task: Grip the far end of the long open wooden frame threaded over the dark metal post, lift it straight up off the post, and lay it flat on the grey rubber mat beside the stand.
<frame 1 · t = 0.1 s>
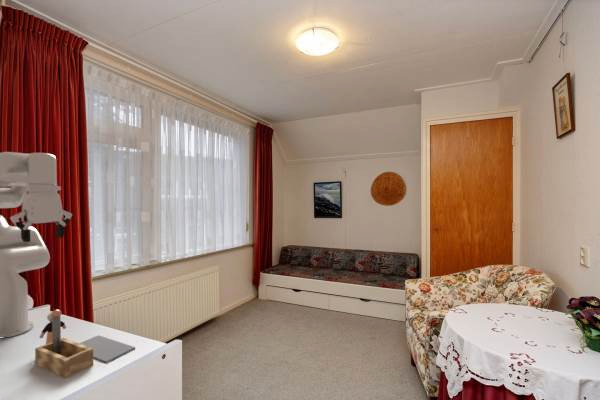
hand: (43, 239, 104), 37 cm above the table, tool pointing down, fingers open, 9 cm apart
rubber mat: (102, 348, 102), on the table
grandmother figurine: (54, 349, 102), on the table
open wooden frame: (64, 364, 93), on the table
post stand: (57, 361, 95), on the table
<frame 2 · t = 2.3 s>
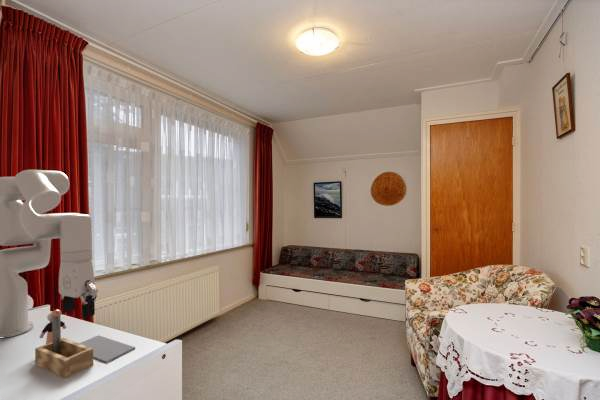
hand: (78, 314, 89), 17 cm above the table, tool pointing down, fingers open, 9 cm apart
nothing on the table moved.
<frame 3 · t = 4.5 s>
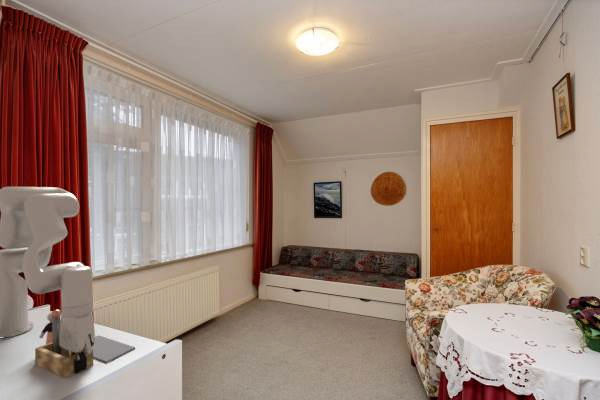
hand: (78, 370, 90), 0 cm above the table, tool pointing down, fingers closed on open wooden frame
open wooden frame: (64, 364, 93), on the table, touching gripper
everything else where it was.
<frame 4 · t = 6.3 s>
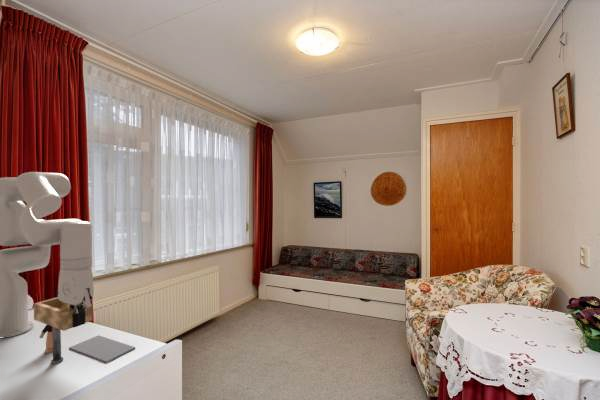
hand: (77, 324, 90), 14 cm above the table, tool pointing down, fingers closed on open wooden frame
open wooden frame: (62, 320, 93), point 14 cm above the table, touching gripper
everything else where it was.
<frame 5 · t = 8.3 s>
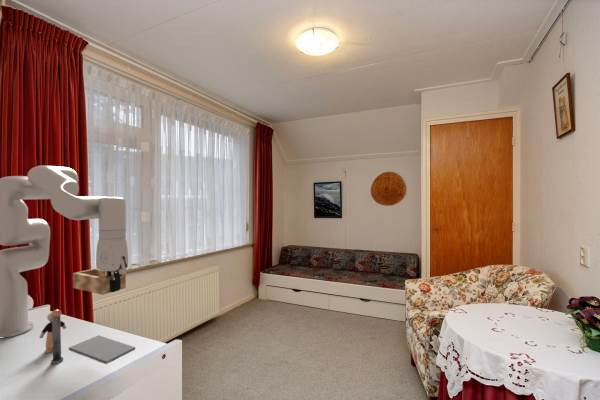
hand: (113, 290, 99), 21 cm above the table, tool pointing down, fingers closed on open wooden frame
open wooden frame: (99, 287, 102), point 21 cm above the table, touching gripper
everything else where it was.
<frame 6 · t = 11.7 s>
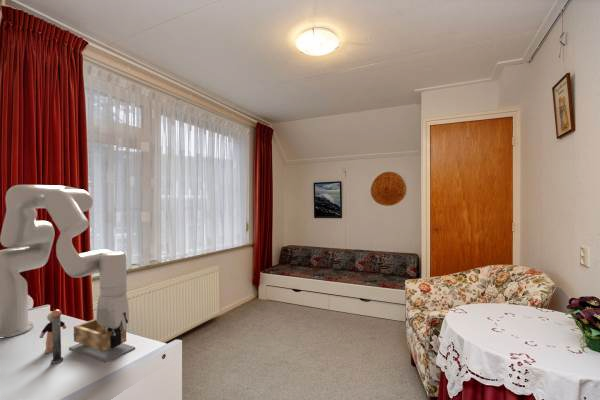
hand: (114, 345, 99), 3 cm above the table, tool pointing down, fingers closed on open wooden frame
open wooden frame: (100, 341, 103), point 2 cm above the table, touching gripper
everything else where it was.
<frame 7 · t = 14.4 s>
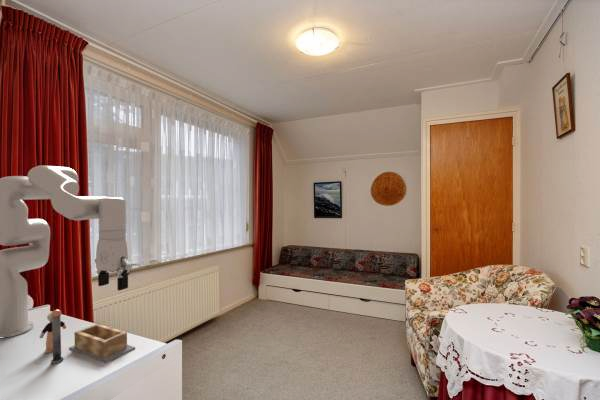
hand: (113, 287, 99), 22 cm above the table, tool pointing down, fingers open, 9 cm apart
open wooden frame: (100, 346, 102), resting on rubber mat
everything else where it was.
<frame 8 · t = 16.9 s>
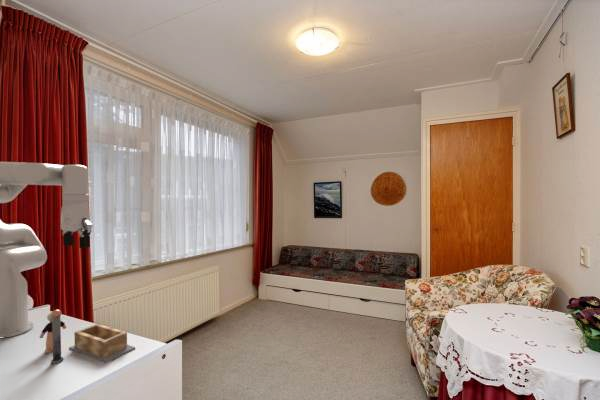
hand: (76, 246, 109), 33 cm above the table, tool pointing down, fingers open, 9 cm apart
nothing on the table moved.
at the end: open wooden frame inside the target area on the rubber mat (0.7 cm from its centre), point 0.5 cm above the rubber mat's base; open wooden frame tilted 0°; open wooden frame touching rubber mat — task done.
